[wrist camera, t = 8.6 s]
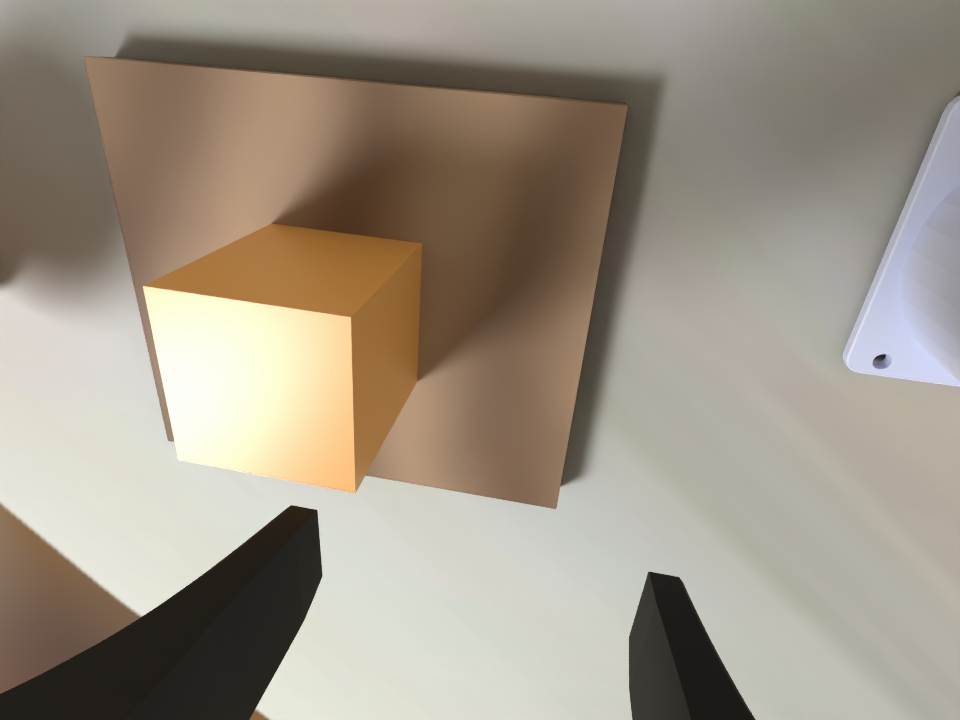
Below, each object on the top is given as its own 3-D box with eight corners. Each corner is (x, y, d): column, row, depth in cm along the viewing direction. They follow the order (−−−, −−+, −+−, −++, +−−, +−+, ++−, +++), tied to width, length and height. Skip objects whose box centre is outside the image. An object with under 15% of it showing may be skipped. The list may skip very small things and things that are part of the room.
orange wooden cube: (421, 243, 18) (350, 317, 13) (417, 382, 20) (355, 493, 15) (271, 223, 18) (142, 285, 13) (283, 360, 21) (178, 459, 15)
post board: (625, 103, 16) (640, 119, 11) (557, 488, 23) (548, 607, 18) (112, 57, 18) (-71, 53, 13) (186, 424, 25) (82, 515, 20)
